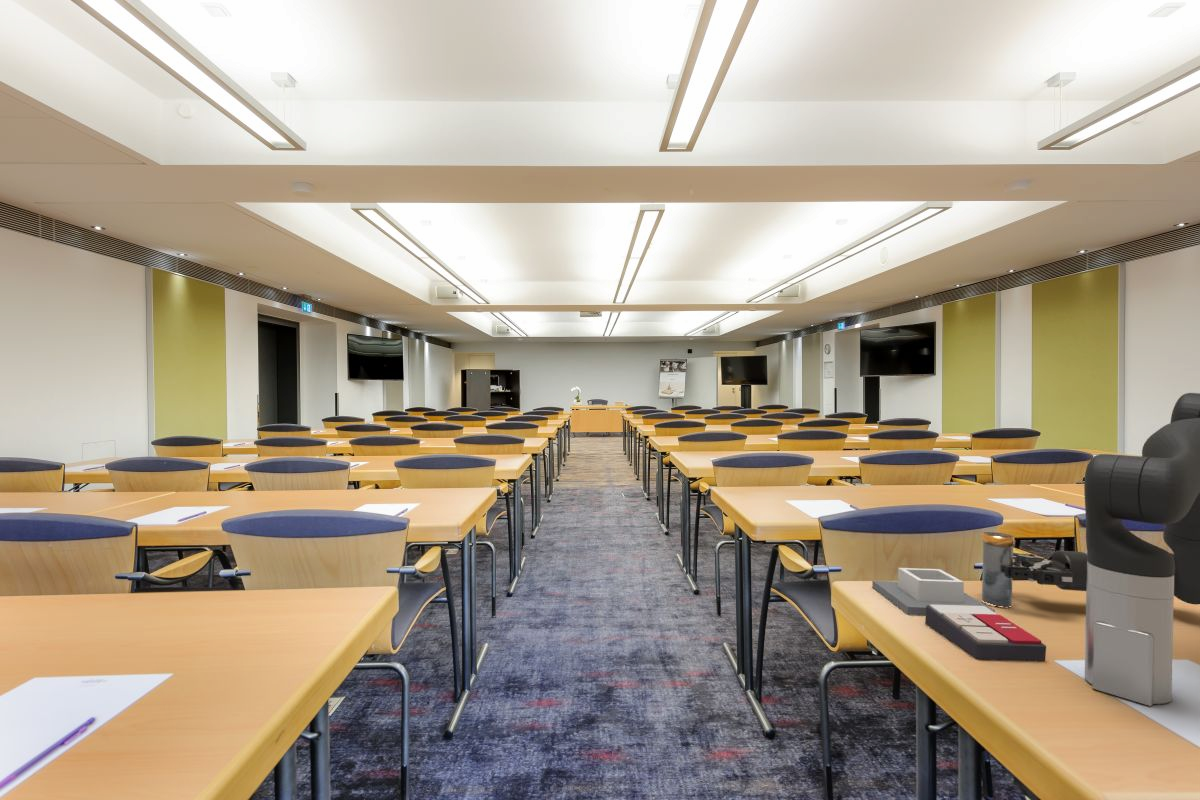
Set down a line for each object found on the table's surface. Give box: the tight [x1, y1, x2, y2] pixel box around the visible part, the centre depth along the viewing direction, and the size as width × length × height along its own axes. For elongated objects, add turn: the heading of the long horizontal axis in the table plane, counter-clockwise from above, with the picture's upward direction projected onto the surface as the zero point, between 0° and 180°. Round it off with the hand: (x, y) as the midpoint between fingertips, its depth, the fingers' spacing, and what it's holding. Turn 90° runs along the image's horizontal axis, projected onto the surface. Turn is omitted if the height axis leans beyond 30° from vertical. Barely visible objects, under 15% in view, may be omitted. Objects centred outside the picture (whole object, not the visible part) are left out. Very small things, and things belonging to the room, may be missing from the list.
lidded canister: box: [981, 531, 1015, 607], centre depth 117 cm, size 5×5×14 cm
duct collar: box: [871, 567, 996, 616], centre depth 117 cm, size 16×16×6 cm
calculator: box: [924, 605, 1047, 663], centre depth 98 cm, size 11×4×15 cm
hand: (994, 565), depth 117 cm, fingers open, 8 cm apart
